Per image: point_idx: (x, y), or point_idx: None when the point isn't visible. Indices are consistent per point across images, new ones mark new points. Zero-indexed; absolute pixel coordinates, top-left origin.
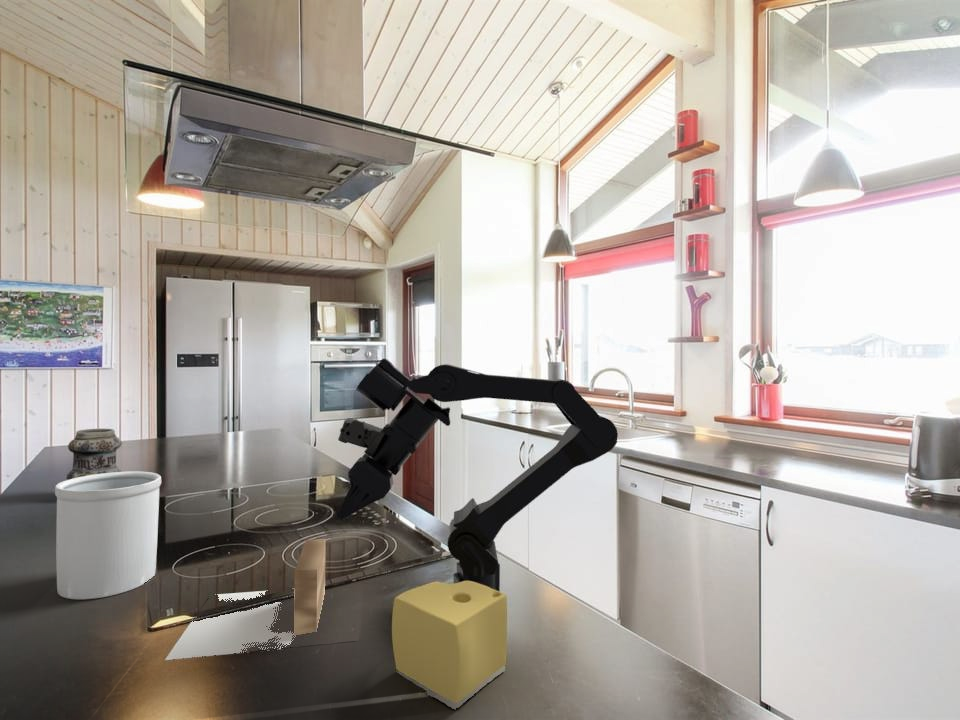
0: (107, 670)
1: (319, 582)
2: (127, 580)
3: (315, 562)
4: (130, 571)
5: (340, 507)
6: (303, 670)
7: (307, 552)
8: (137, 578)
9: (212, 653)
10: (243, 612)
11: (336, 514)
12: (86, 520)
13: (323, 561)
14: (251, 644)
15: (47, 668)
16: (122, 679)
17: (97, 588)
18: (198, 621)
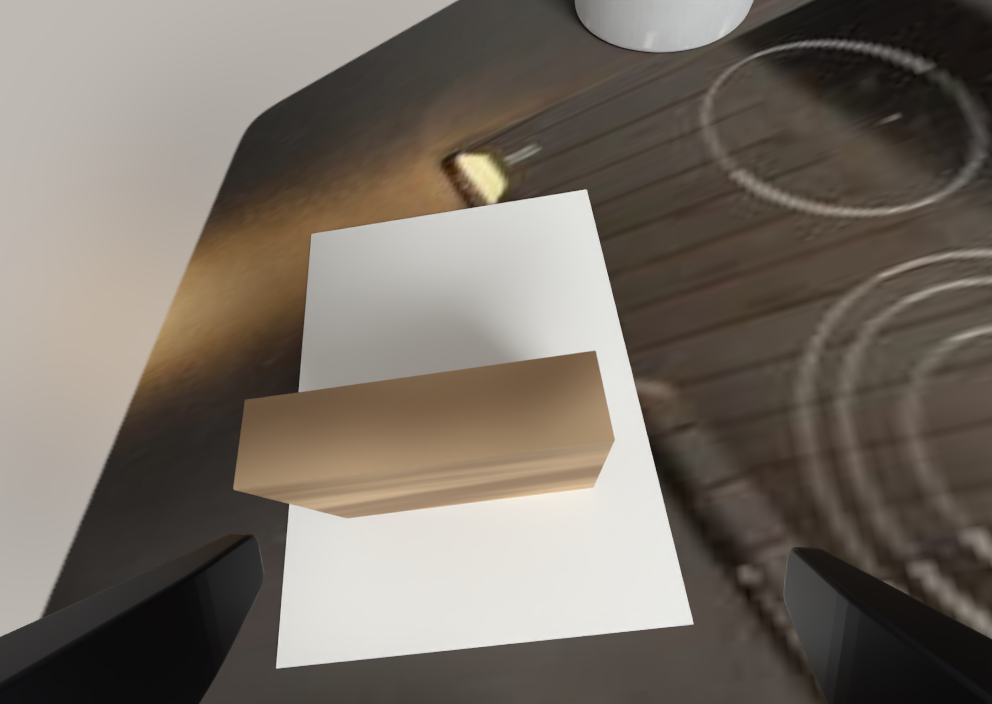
0: (319, 169)
1: (372, 492)
2: (615, 21)
3: (309, 464)
4: (624, 3)
5: (136, 579)
6: (210, 521)
7: (433, 399)
8: (636, 30)
9: (312, 304)
10: (487, 295)
11: (226, 536)
12: None
13: (520, 468)
14: (331, 367)
15: (346, 96)
16: (285, 202)
17: (581, 1)
18: (453, 223)
